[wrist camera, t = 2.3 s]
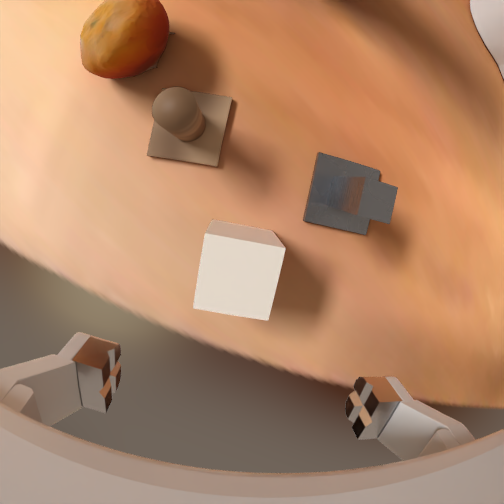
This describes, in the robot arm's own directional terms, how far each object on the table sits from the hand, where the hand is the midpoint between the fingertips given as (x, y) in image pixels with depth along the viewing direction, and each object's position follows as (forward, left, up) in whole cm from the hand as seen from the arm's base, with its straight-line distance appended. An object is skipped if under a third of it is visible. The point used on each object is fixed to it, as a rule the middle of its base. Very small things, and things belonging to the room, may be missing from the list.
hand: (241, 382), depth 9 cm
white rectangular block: (0, 0, -17) cm, 17 cm away
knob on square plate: (+6, -10, -17) cm, 21 cm away
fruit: (+13, -17, -18) cm, 28 cm away
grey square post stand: (-8, -7, -17) cm, 20 cm away
